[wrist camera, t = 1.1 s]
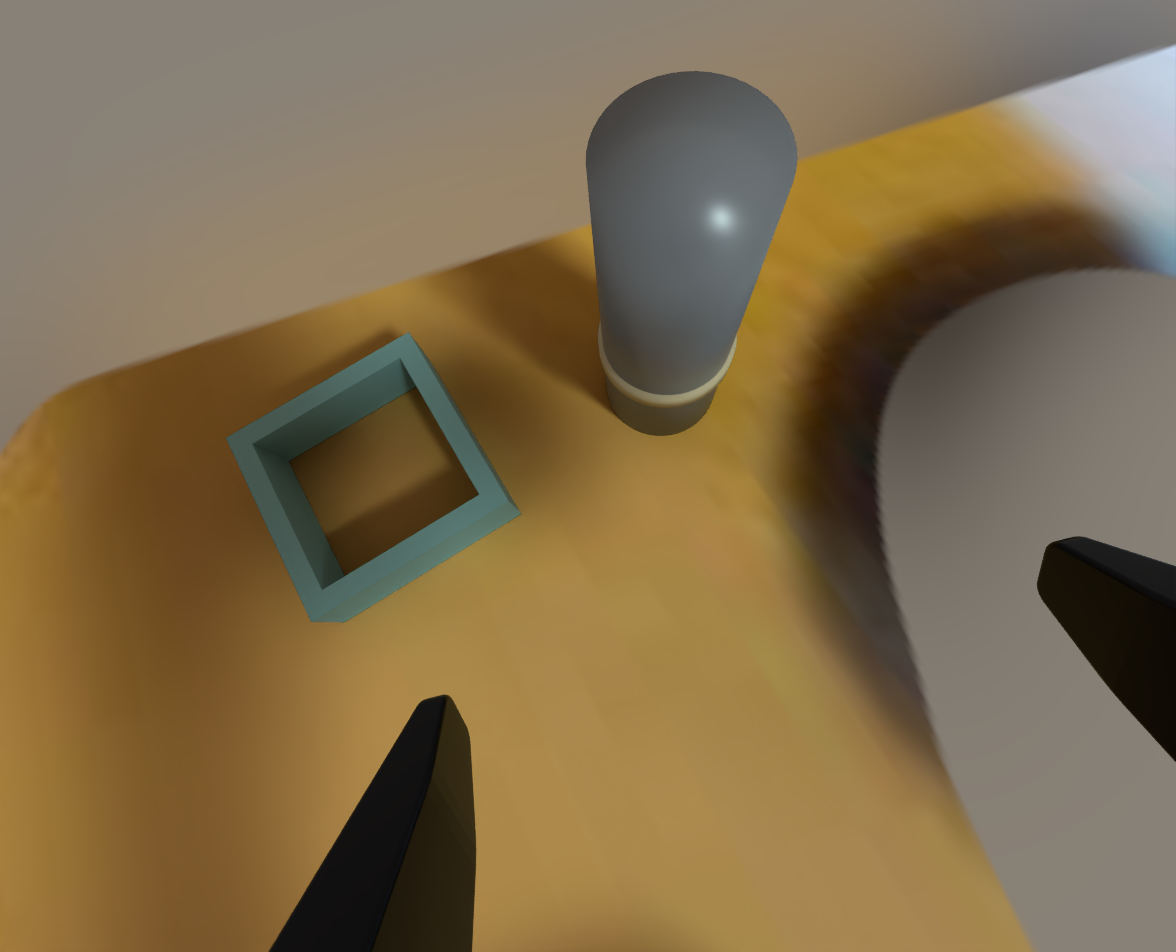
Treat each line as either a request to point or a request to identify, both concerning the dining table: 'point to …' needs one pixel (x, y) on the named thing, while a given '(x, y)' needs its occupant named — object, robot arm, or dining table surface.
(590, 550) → the dining table surface
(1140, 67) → the dining table surface
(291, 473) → the frame
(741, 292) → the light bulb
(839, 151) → the dining table surface
